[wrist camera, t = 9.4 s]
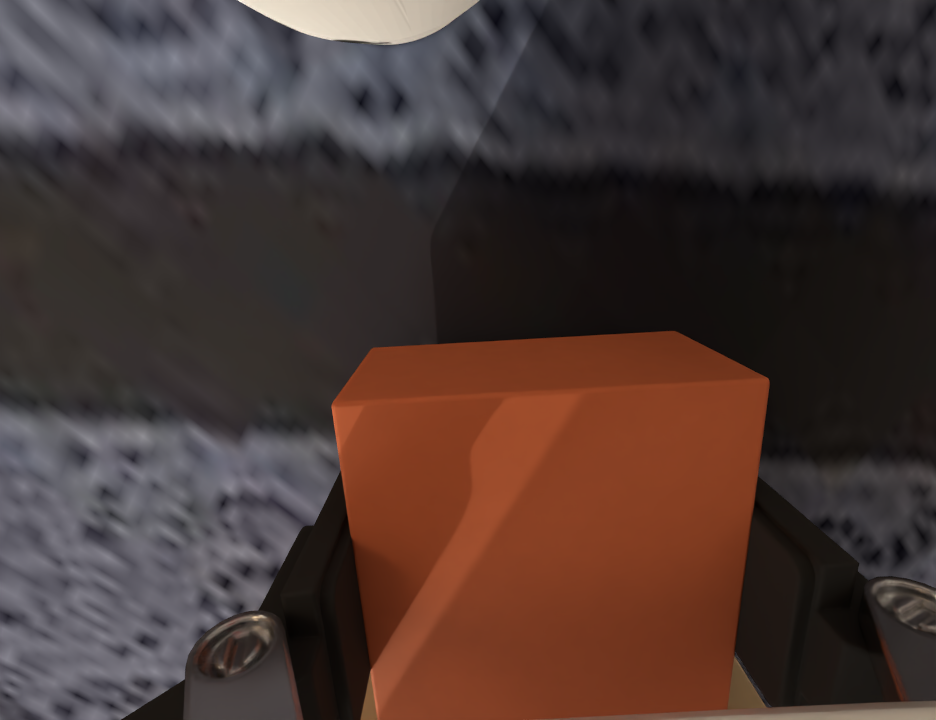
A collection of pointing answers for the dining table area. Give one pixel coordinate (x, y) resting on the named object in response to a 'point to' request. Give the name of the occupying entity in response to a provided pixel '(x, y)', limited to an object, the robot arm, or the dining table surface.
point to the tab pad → (550, 523)
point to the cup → (363, 18)
